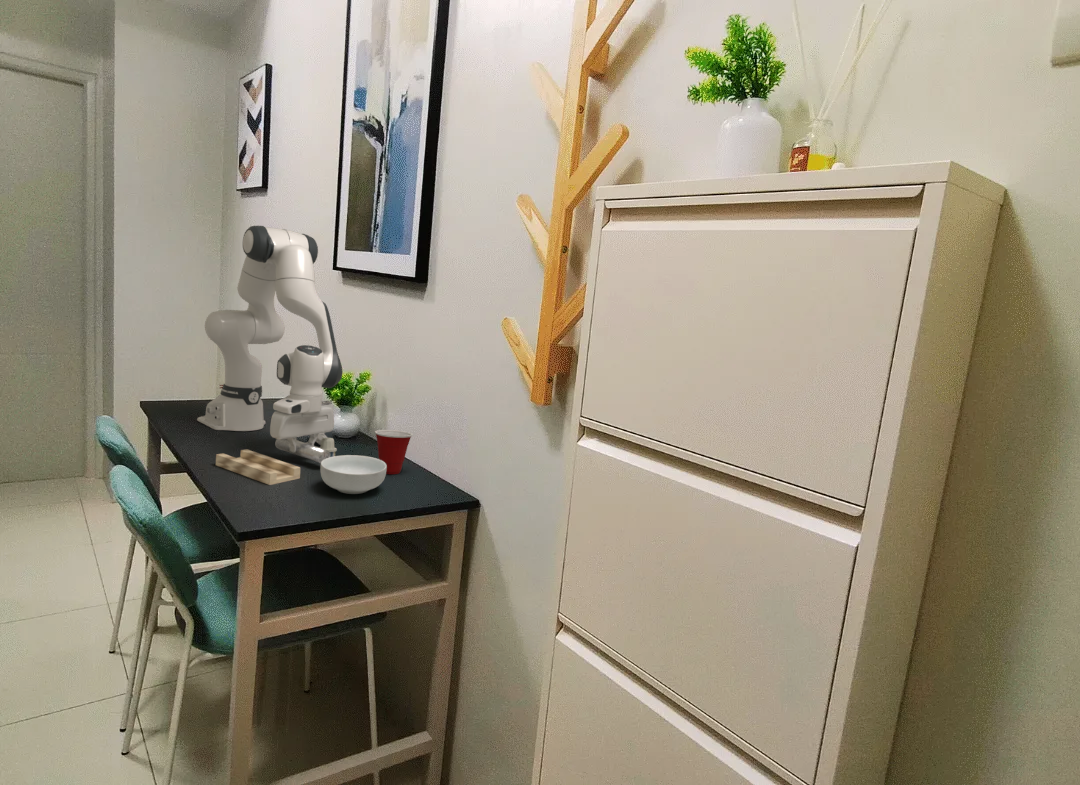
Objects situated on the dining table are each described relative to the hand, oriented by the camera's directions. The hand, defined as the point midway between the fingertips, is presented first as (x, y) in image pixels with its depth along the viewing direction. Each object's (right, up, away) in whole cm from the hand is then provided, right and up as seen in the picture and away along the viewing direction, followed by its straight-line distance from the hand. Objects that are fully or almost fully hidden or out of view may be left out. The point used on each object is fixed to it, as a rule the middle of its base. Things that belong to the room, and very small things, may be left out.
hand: (301, 450), depth 191 cm
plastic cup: (+25, -7, +3) cm, 26 cm away
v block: (-7, -5, -13) cm, 15 cm away
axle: (0, -2, 0) cm, 2 cm away
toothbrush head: (0, -2, +17) cm, 17 cm away
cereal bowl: (+19, -9, -17) cm, 27 cm away
